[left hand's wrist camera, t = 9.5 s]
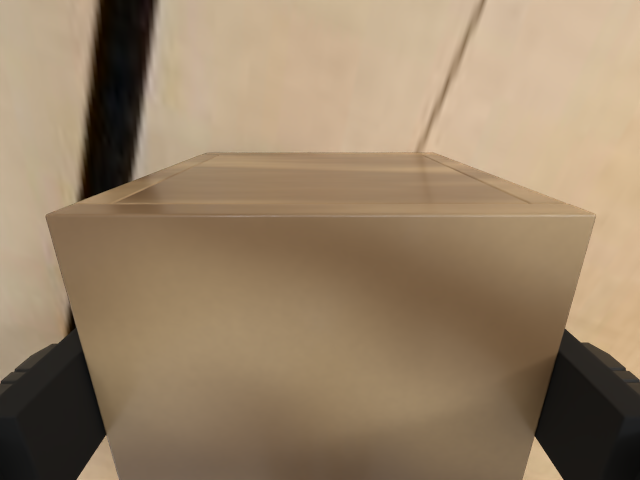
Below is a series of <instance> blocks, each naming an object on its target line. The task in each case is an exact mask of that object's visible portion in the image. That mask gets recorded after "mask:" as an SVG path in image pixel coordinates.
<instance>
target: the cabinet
mask: <svg viewBox="0 0 640 480" xmlns="http://www.w3.org/2000/svg"><path fill="white" fill-rule="evenodd" d="M595 218H596V215H595V214H594V213H591V212H589V211H586V210H583V209H581V208H578V207H576V206H573V205H570V204H566V203H564V202H562V201H559V200H556V199H554V198H551V197H549V196H546V195H543V194H541V193H538V192H535V191H533V190H530V189H528V188H525V187H522V186H520V185H517V184H515V183H512V182H509V181H507V180H504V179H501V178H499V177H496V176H494V175H491V174H488V173H486V172H483V171H480V170H478V169H475V168H473V167H470V166H467V165H465V164H462V163H460V162H457V161H454V160H452V159H449V158H446V157H444V156H441V155H438V154H436V153H205V154H202V155H199V156H197V157H194V158H191V159H189V160H186V161H184V162H181V163H178V164H176V165H173V166H171V167H168V168H165V169H163V170H160V171H158V172H155V173H152V174H150V175H147V176H145V177H142V178H139V179H137V180H134V181H132V182H129V183H126V184H124V185H121V186H119V187H116V188H113V189H111V190H108V191H106V192H103V193H100V194H98V195H95V196H93V197H90V198H87V199H85V200H82V201H80V202H77V203H75V204H72V205H70V206H67V207H64V208H62V209H59V210H57V211H54V212H51V213H49V214H47V215H46V220H47V224H48V227H49V231H50V235H51V238H52V242H53V245H54V249H55V252H56V256H57V260H58V263H59V267H60V270H61V274H62V277H63V281H64V285H65V288H66V292H67V295H68V299H69V302H70V306H71V310H72V313H73V317H74V320H75V324H76V327H77V331H78V335H79V338H80V342H81V345H82V349H83V352H84V356H85V360H86V363H87V367H88V370H89V374H90V377H91V381H92V385H93V388H94V392H95V395H96V399H97V402H98V406H99V410H100V413H101V417H102V420H103V424H104V427H105V431H106V435H107V438H108V442H109V445H110V449H111V452H112V456H113V460H114V463H115V467H116V470H117V474H118V477H119V480H522V479H523V475H524V472H525V468H526V465H527V461H528V457H529V454H530V450H531V447H532V443H533V440H534V436H535V433H536V429H537V425H538V422H539V418H540V415H541V411H542V408H543V404H544V400H545V397H546V393H547V390H548V386H549V383H550V379H551V375H552V372H553V368H554V365H555V361H556V358H557V354H558V350H559V347H560V343H561V340H562V336H563V333H564V329H565V325H566V322H567V318H568V315H569V311H570V308H571V304H572V300H573V297H574V293H575V290H576V286H577V283H578V279H579V275H580V272H581V268H582V265H583V261H584V258H585V254H586V250H587V247H588V243H589V240H590V236H591V233H592V229H593V225H594V222H595Z"/></svg>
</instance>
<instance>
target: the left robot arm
mask: <svg viewBox="0 0 640 480" xmlns="http://www.w3.org/2000/svg"><path fill="white" fill-rule="evenodd" d="M105 436H106V431H105V427H104V424H103V420H102V417H101V413H100V410H99V406H98V402H97V399H96V395H95V392H94V388H93V385H92V381H91V377H90V374H89V370H88V367H87V363H86V360H85V356H84V352H83V349H82V345H81V342H80V338H79V335H78V331H77V327H76V328H75V329H74V330H73V331H72V332H71V333H70V334H68V335H67V336H66V337H65V338H64V339H63V340H62V341H61V342H59V343H58V344H51V345H49V346H48V347H46V348H44V349H42V350H40V351H39V352H37V353H35V354H33V355H31V356H30V357H29V358H28V359H27V360H25V361H24V362H23V363H22V364H21V365H19V366H18V367H17V368H16V369H15V371H14V372H11V373H10V374H9V375H8V376H7V377H5V378H4V379H3V380H2V381H1V384H0V480H76V479H77V478H78V476H79V475H80V473H81V472H82V470H83V469H84V467H85V466H86V464H87V463H88V461H89V460H90V458H91V457H92V455H93V454H94V452H95V451H96V449H97V448H98V446H99V445H100V443H101V442H102V440H103V439H104V437H105ZM535 437H536V439H537V440H538V442H539V443H540V445H541V446H542V448H543V449H544V451H545V452H546V454H547V455H548V457H549V458H550V460H551V461H552V463H553V464H554V466H555V467H556V469H557V470H558V472H559V473H560V475H561V476H562V478H563V479H564V480H640V380H639V379H638V378H637V377H636V376H634V375H633V374H632V373H631V372H630V371H626V368H625V367H624V366H622V365H621V364H620V363H619V362H618V361H617V360H615V359H614V358H613V357H612V356H611V355H609V354H608V353H606V352H604V351H602V350H600V349H599V348H597V347H595V346H593V345H591V344H590V343H581V342H579V341H578V340H577V339H576V338H575V337H574V336H573V335H572V334H570V333H569V332H568V331H567V330H566V329H564V333H563V336H562V340H561V343H560V347H559V350H558V354H557V358H556V361H555V365H554V368H553V372H552V375H551V379H550V383H549V386H548V390H547V393H546V397H545V400H544V404H543V408H542V411H541V415H540V418H539V422H538V425H537V429H536V433H535Z"/></svg>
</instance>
